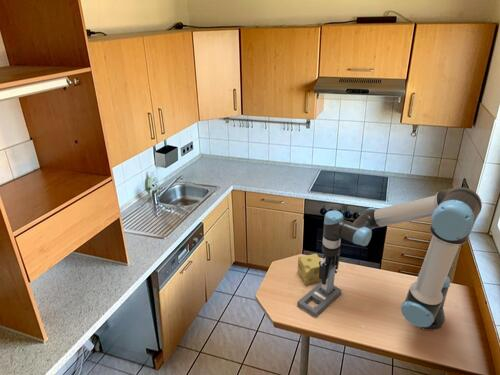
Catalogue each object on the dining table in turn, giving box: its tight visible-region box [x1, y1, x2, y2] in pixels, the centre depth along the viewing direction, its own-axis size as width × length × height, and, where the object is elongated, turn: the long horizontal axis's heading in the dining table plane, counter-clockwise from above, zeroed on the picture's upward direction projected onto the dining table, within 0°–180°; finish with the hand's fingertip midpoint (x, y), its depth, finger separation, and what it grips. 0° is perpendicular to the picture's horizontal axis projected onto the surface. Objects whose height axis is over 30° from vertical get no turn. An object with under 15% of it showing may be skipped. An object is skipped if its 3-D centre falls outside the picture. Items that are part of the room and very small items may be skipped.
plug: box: [321, 264, 336, 295], centre depth 172 cm, size 4×4×16 cm
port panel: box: [296, 282, 343, 318], centre depth 171 cm, size 10×20×3 cm, turn 135°
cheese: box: [297, 253, 323, 286], centre depth 184 cm, size 10×11×10 cm
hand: (327, 285), depth 173 cm, fingers closed on plug, 4 cm apart
